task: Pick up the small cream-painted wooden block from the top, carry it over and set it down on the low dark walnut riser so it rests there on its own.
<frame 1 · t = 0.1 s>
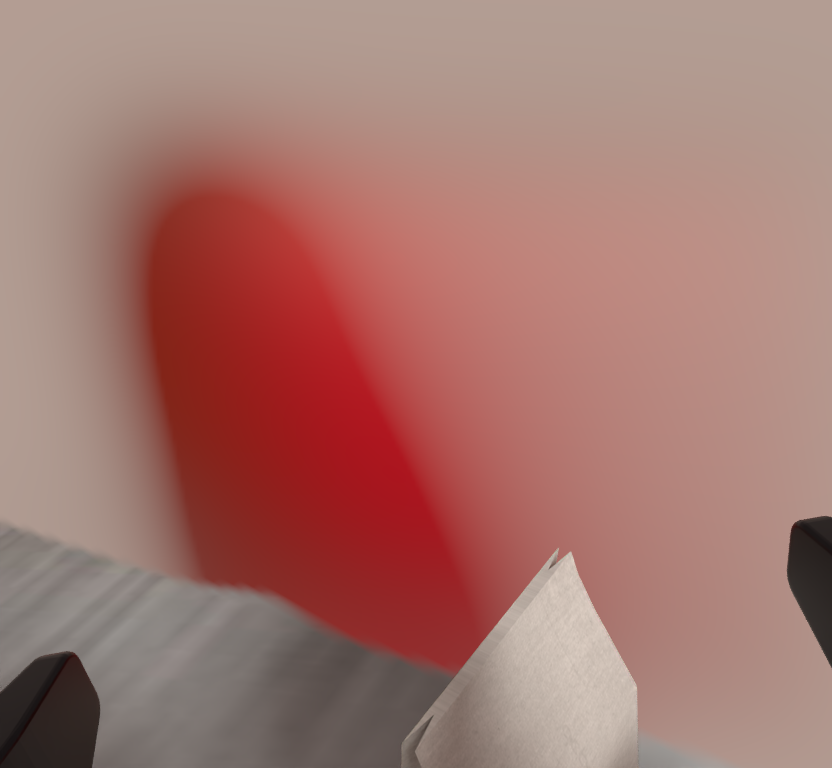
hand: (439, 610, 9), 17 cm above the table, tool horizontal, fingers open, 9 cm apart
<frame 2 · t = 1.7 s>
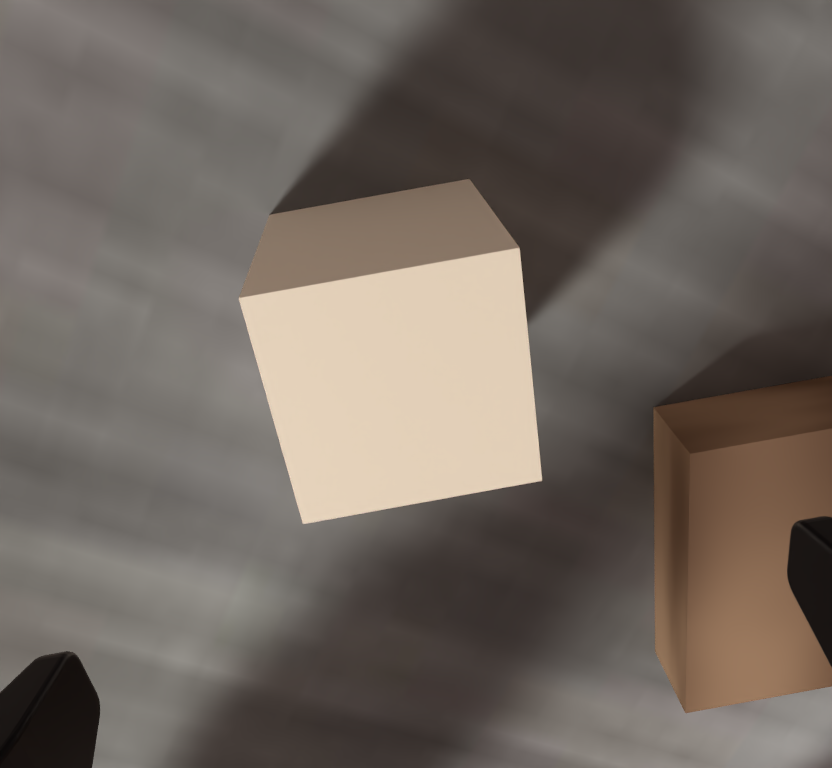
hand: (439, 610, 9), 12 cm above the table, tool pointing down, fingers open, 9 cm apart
walnut riser: (799, 505, 25), on the table
cream block: (387, 290, 20), on the table
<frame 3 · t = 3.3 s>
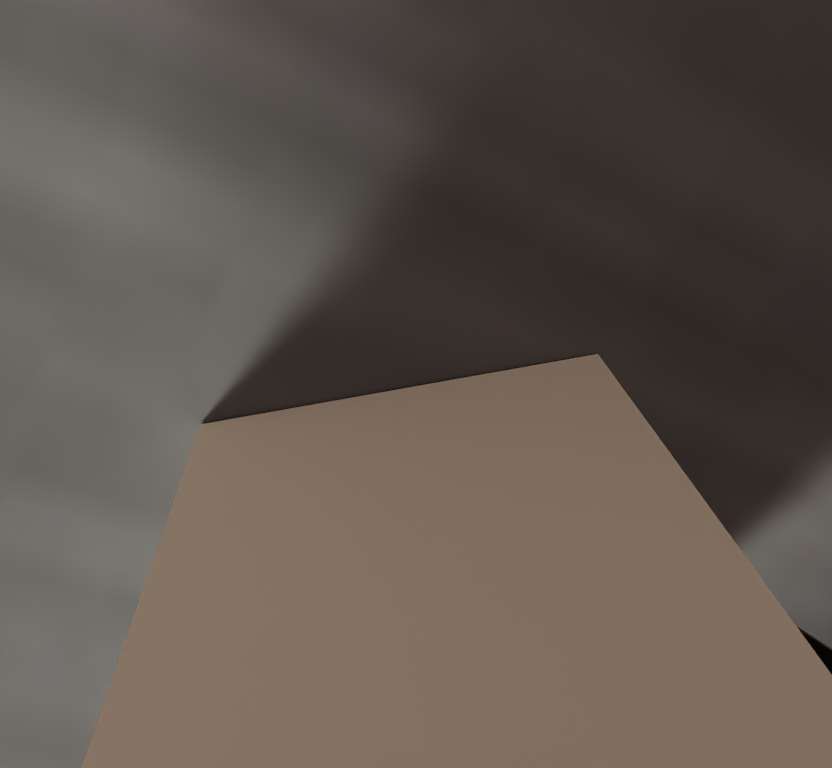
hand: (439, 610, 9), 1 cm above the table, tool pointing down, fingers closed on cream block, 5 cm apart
cream block: (428, 546, 10), on the table, touching gripper
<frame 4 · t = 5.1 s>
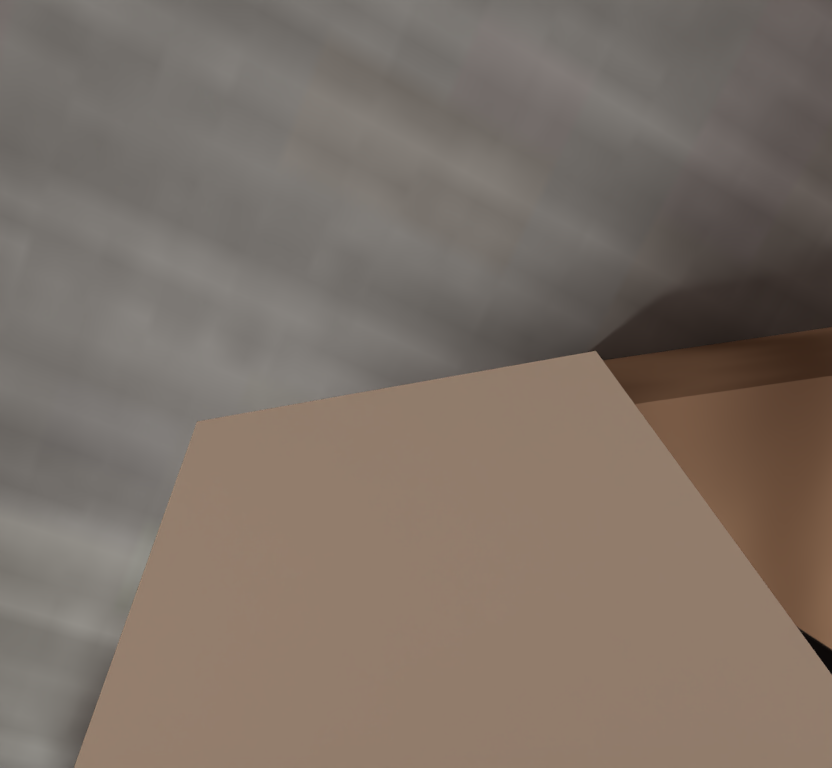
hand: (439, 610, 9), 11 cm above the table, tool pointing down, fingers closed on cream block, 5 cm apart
walnut riser: (726, 477, 24), on the table
cream block: (426, 543, 10), point 10 cm above the table, touching gripper
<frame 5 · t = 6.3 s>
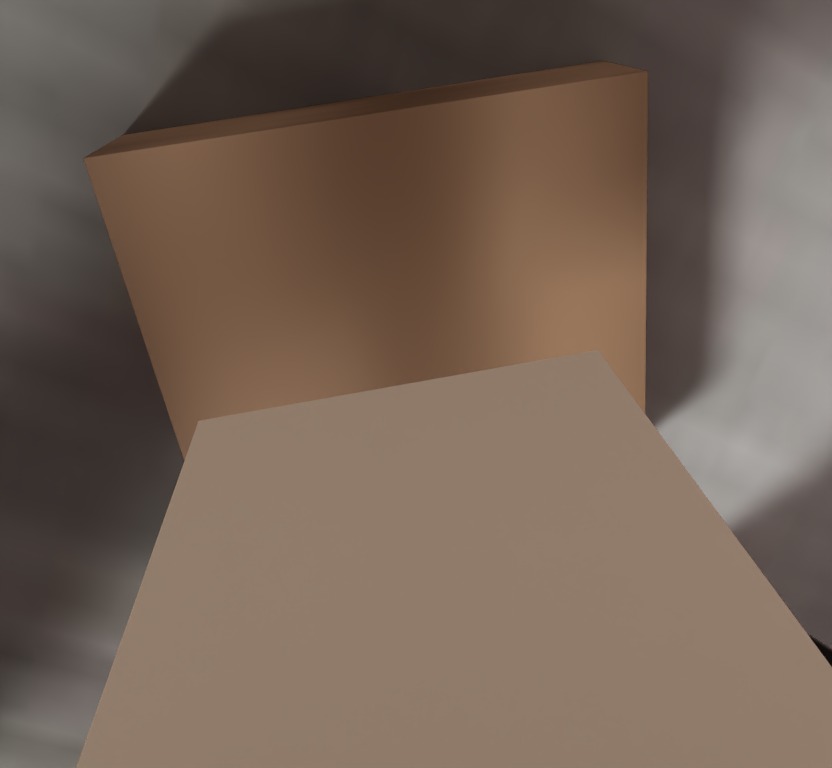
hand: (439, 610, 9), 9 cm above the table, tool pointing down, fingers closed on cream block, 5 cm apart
walnut riser: (398, 314, 18), on the table
cream block: (428, 543, 10), point 8 cm above the table, touching gripper
when the fingers open (5 cm above the table, at t = 7.4 s): cream block drops 1 cm, resting on walnut riser.
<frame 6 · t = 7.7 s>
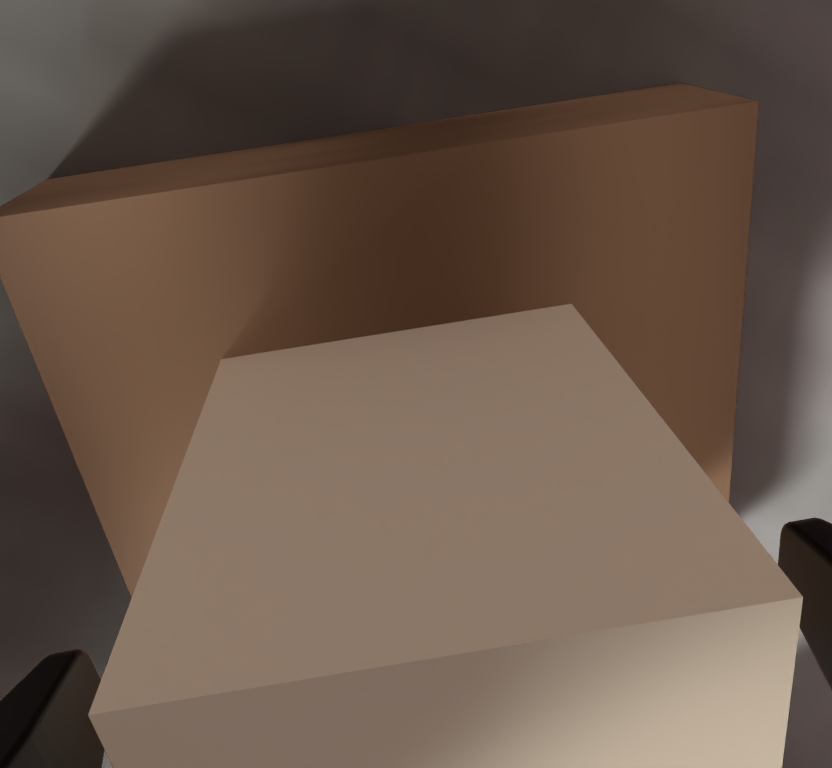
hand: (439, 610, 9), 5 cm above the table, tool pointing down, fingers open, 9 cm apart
walnut riser: (407, 395, 14), on the table, touching cream block
cream block: (420, 478, 12), point 2 cm above the table, touching walnut riser
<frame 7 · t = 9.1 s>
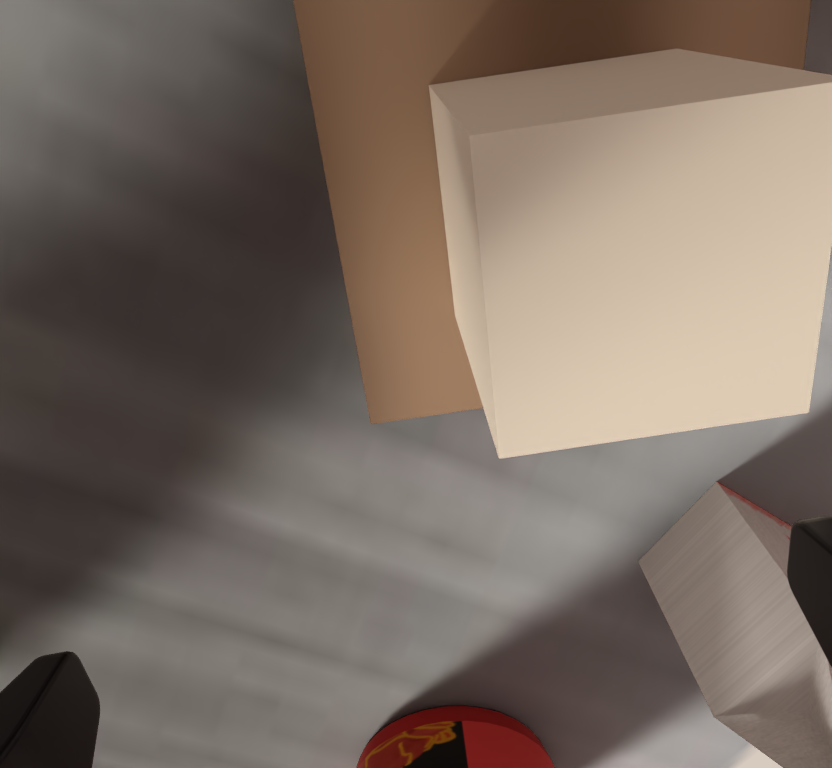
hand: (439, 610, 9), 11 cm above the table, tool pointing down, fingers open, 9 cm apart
walnut riser: (535, 165, 19), on the table
canned food: (451, 764, 29), on the table
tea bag: (747, 559, 25), on the table
cream block: (557, 191, 16), point 2 cm above the table
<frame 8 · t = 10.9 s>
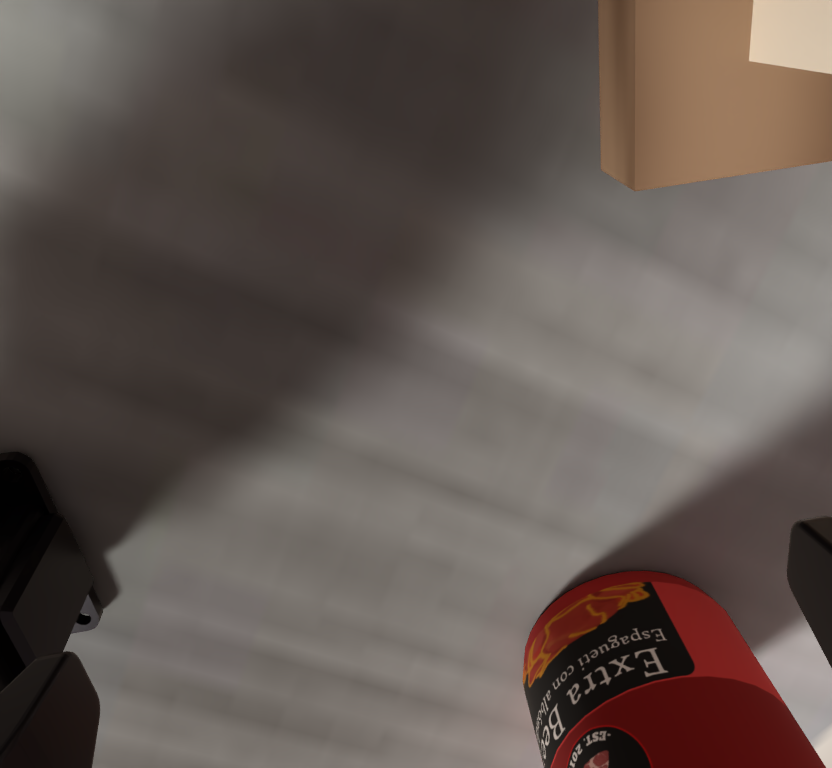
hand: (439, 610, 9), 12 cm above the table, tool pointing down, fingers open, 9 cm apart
canned food: (621, 643, 27), on the table
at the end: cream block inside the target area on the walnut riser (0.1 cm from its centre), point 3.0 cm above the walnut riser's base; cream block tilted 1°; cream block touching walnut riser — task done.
